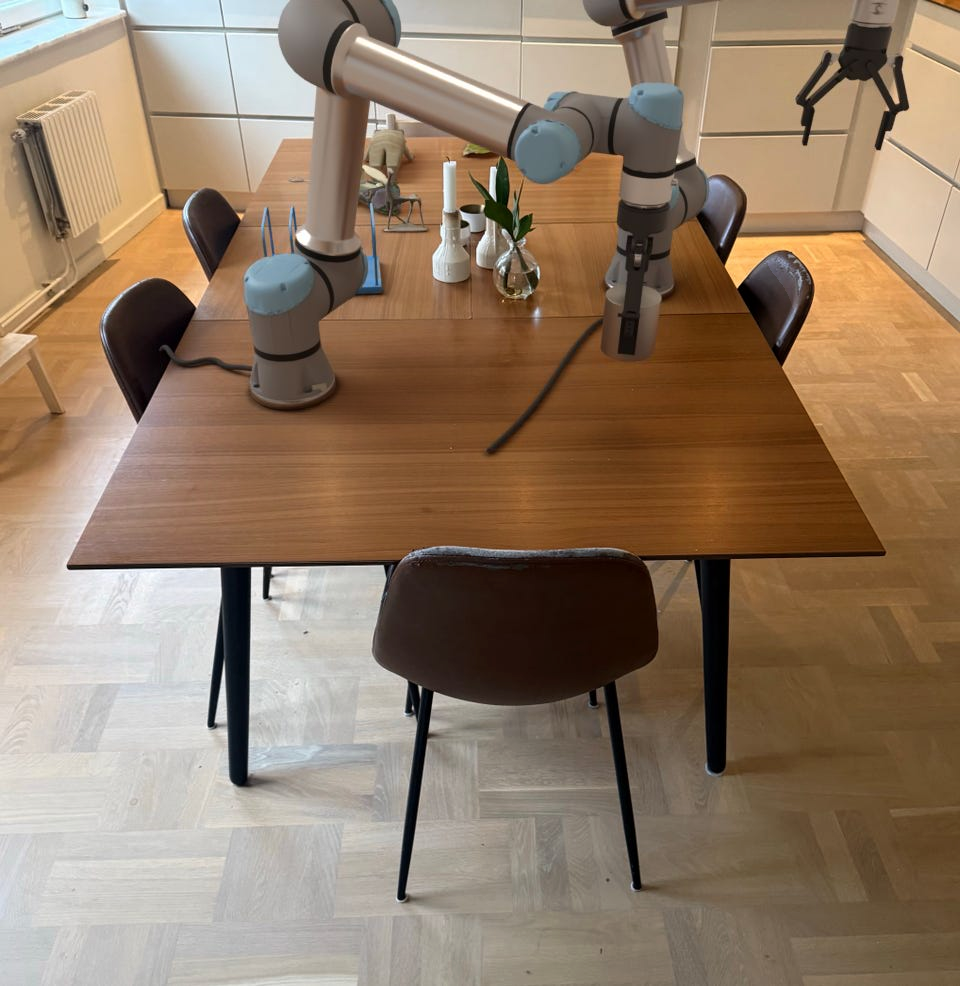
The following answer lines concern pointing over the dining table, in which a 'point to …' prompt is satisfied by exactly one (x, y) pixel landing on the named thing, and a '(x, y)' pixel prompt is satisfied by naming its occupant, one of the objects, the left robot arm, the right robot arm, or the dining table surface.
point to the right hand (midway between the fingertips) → (840, 146)
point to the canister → (645, 328)
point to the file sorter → (373, 274)
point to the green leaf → (474, 149)
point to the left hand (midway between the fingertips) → (627, 339)
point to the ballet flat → (376, 190)
